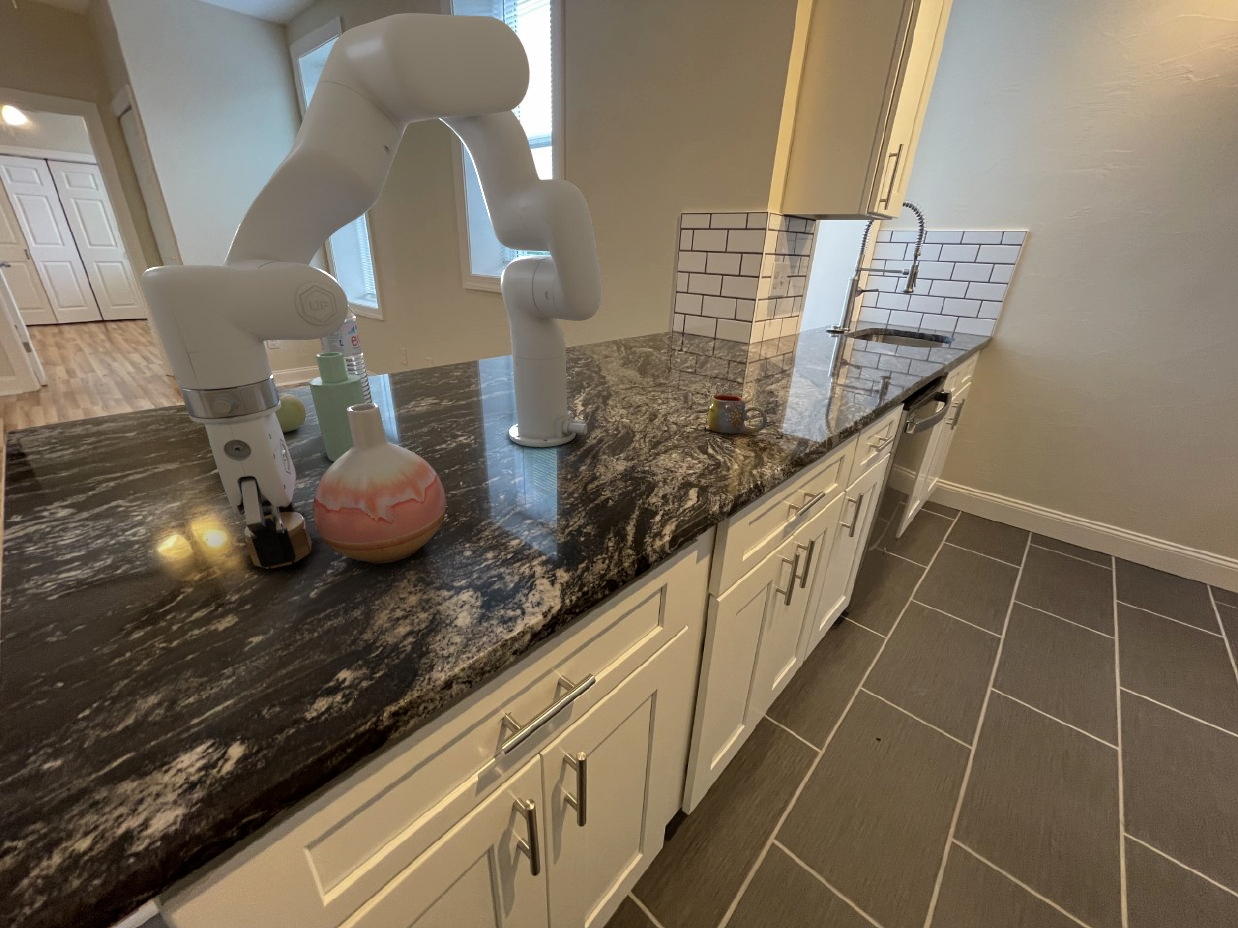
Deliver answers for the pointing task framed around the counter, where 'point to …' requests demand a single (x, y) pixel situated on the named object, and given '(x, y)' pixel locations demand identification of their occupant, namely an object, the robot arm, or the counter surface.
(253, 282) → the robot arm
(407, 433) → the counter surface
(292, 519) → the cap
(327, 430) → the ceramic bottle
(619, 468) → the counter surface
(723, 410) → the mug
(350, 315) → the water bottle
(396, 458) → the vase
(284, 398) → the fruit
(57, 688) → the counter surface
